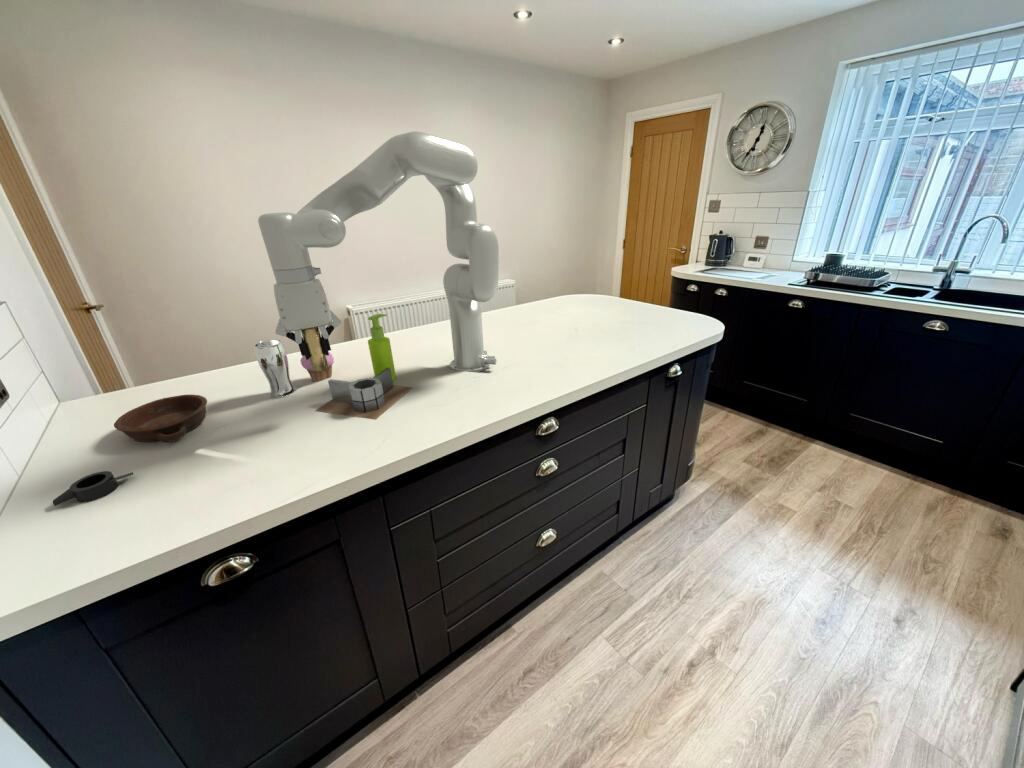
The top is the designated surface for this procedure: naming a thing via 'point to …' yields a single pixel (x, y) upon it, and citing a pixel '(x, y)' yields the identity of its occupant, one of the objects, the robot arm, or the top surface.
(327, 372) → the cupcake
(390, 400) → the hinge base
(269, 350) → the beer glass
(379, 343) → the soap dispenser
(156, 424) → the dish
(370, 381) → the hinge
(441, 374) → the top surface
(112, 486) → the black ring with arms
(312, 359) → the hinge pin
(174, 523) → the top surface
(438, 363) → the top surface
